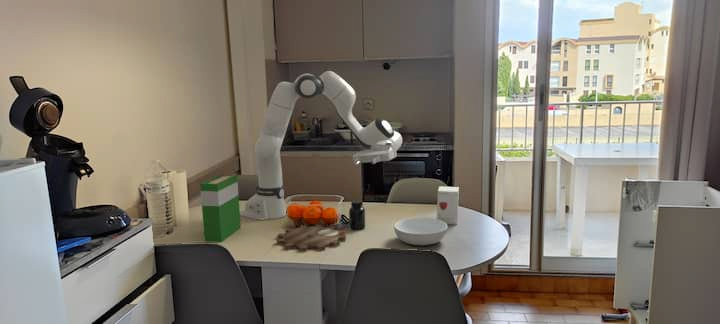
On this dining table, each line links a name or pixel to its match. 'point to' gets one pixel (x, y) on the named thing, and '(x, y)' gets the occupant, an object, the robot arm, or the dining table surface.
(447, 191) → the supplement box
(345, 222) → the dining table surface
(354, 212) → the supplement bottle
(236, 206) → the green cereal box
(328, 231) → the sprocket wheel
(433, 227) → the serving bowl
